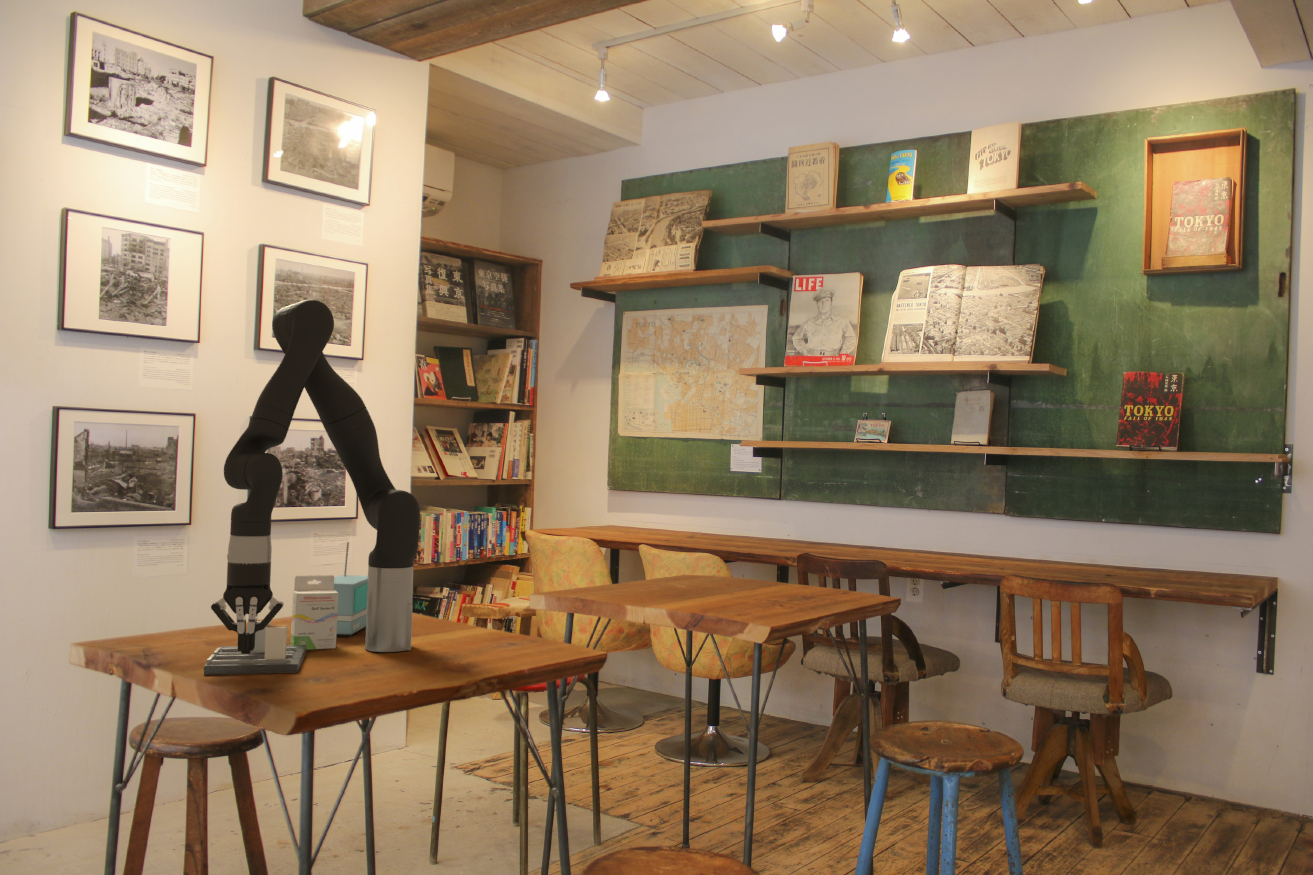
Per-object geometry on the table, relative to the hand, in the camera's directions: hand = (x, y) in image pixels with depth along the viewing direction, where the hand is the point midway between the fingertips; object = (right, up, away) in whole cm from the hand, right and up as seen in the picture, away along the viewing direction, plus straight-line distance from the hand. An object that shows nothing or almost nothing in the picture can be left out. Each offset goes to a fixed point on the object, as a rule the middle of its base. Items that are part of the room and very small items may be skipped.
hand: (245, 653), depth 187 cm
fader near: (+5, -1, +1) cm, 5 cm away
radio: (+6, -5, +43) cm, 43 cm away
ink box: (+5, -4, +23) cm, 24 cm away
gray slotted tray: (0, -3, +6) cm, 6 cm away
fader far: (0, -1, +7) cm, 7 cm away
